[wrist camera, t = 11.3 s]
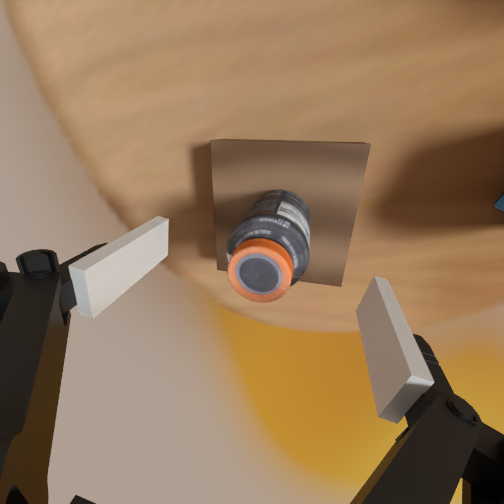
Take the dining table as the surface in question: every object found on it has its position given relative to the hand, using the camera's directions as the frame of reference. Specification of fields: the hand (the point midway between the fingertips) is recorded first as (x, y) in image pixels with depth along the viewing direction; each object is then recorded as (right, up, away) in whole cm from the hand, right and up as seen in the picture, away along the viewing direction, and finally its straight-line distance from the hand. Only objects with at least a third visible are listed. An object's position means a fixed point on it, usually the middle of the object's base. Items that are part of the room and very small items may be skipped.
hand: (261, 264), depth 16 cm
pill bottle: (+2, +4, +9) cm, 10 cm away
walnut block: (+3, +6, +13) cm, 14 cm away
